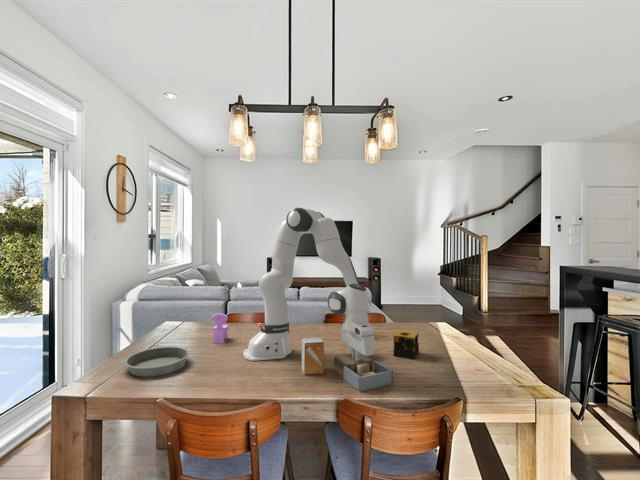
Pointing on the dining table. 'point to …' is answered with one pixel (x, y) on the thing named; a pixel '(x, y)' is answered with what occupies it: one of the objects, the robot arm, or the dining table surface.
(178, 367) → the cake pan
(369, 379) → the tray
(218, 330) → the toy chair
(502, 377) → the dining table surface
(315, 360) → the small box
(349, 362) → the brown and beige block
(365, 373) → the front tile
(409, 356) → the candle
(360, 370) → the rear tile
